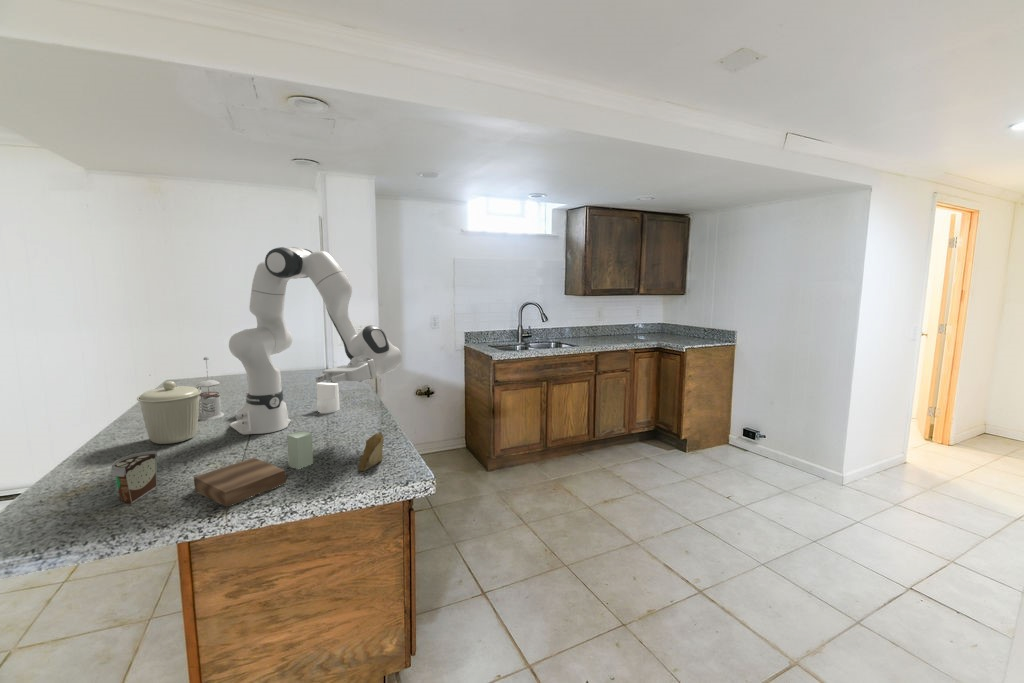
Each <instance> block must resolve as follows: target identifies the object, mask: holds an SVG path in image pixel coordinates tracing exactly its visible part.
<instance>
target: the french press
mask: <svg viewBox="0 0 1024 683" xmlns="http://www.w3.org/2000/svg"><path fill="white" fill-rule="evenodd" d="M202 360H203V361H205V364H206V368H208V362H207V361H208V360H210V357H208V356H205V357H203V359H202ZM206 374H207V375H206V376H207V377H206V380H202V381H199V382H198V383H196V384H195V385H196V387H195V388H197V389H199V390H201V391H202V388H207V391H204V392H201V394H199V397H200V398H199V414H198V421H199V420H200V421H207V420H214V419H219V418H221V417H222V418H223V417H224V416H225V413H224V412H222V406H221V404H222V403H221V395H220V394H219V393H220V392H219V391H216V390H212V391H210V387H215V386H219V385H220V382H219V381H218V380H214V379H209V375H208V371H206Z"/></svg>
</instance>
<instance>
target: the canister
mask: <svg viewBox="0 0 1024 683" xmlns="http://www.w3.org/2000/svg"><path fill="white" fill-rule="evenodd" d="M176 385H177V384H176V382H174V381H173V380H168V381H165V382H164V383H163V384H162V387H160V388H155V389H151V390H148V391H145V392H143V393H142V394H141V395H140V394H139V396H137V397H136V401H137V402H139V405H140V409H141V412H142V417H143V421H144V426H145V429H146V433H147V436H148V438H149V440H150V441H151V443H152V442H153V443H154V444H158V445H169V444H177V443H181V442H185V441H187V440H190V439H192V438H193V437H194V436H195V435H196V434H197V432H198V425H199V420H198V415H199V399H200V396H199V394H201V393H203V391H202V389H201V390H200V388H198V389H197V388H196V387H195V386H187V385H178V386H176Z"/></svg>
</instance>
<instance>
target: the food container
mask: <svg viewBox="0 0 1024 683" xmlns="http://www.w3.org/2000/svg"><path fill="white" fill-rule="evenodd" d="M158 458H159V456H158V452H157V450H151V451H143V452H137V453H133V454H129V455H126V456H123V457H120V458H118V459H117V460H114V462H113V463H112V465H111V469H110V474H111V476H113V477H114V478H115V482H116V487H117V491H118V495H119V500H120V502H121V503H123V504H130V505H133V503H135V502H136V501H138V500H140V499H141V498H142V497H144V496H146V495H147V494H149V493H150V492H152V491H153V490H155V489H156V488H157V487H158V472H157V470H158V468H157V467H158V466H157V461H158V460H157V459H158Z"/></svg>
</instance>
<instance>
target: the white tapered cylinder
mask: <svg viewBox="0 0 1024 683" xmlns="http://www.w3.org/2000/svg"><path fill="white" fill-rule="evenodd" d="M339 393H340V392H339V383H338V382H335V383H332V382H316V406H317V407H316V410H317V411H318V412H320V413H319V414H329V413H328V412H334V411H337V410H339V411H340V395H339ZM318 412H317V413H318ZM337 412H338V411H337ZM334 413H335V412H334Z"/></svg>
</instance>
